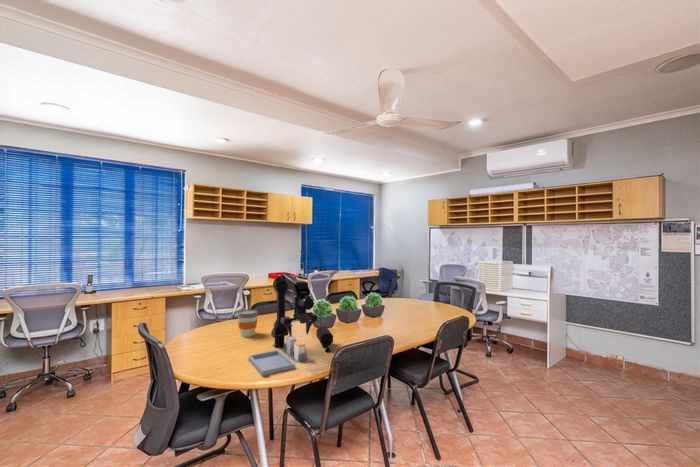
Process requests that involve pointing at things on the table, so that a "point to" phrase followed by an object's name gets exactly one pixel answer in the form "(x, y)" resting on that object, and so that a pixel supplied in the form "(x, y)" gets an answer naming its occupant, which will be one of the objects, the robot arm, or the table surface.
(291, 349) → the clip block
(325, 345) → the security camera
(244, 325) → the reusable coffee cup
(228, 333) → the table surface
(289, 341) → the block
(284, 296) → the robot arm
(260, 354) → the tray
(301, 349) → the block
